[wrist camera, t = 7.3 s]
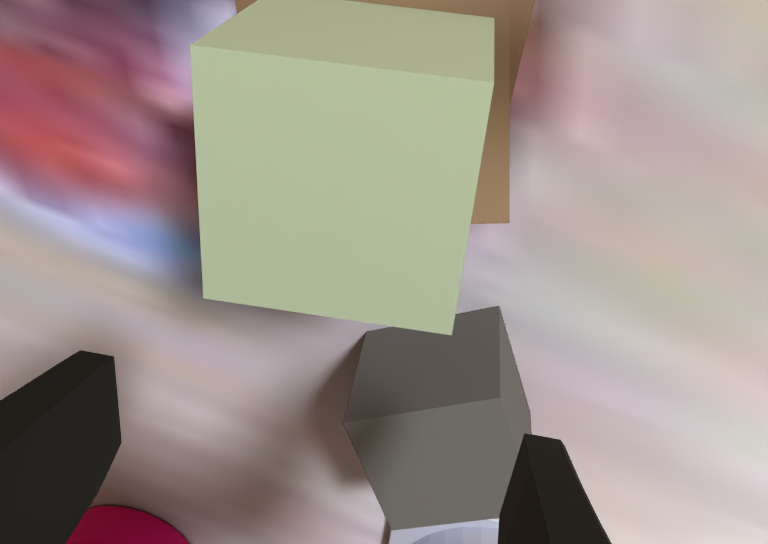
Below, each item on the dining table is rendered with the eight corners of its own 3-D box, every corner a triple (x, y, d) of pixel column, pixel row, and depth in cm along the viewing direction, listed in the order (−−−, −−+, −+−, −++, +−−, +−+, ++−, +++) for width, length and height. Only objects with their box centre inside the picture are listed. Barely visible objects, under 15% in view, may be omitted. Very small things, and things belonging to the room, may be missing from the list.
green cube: (461, 221, 17) (451, 335, 13) (269, 194, 17) (203, 298, 13) (494, 17, 14) (494, 83, 10) (270, -9, 14) (190, 45, 11)
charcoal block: (530, 410, 25) (536, 514, 21) (406, 429, 26) (391, 530, 22) (499, 304, 23) (500, 397, 19) (366, 330, 24) (342, 423, 20)
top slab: (507, 179, 19) (509, 223, 16) (299, 184, 19) (275, 227, 17) (507, -54, 16) (509, -38, 14) (265, -35, 17) (231, -18, 14)
